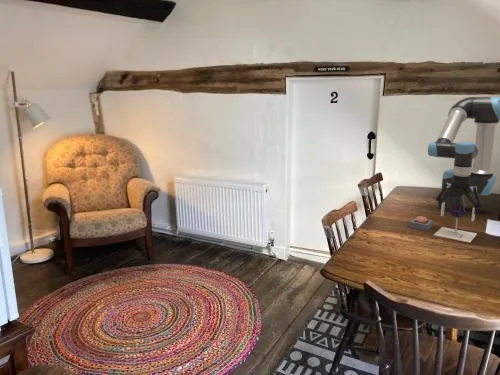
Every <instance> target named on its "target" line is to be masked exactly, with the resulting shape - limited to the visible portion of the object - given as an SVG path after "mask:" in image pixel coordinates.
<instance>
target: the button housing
mask: <svg viewBox="0 0 500 375" xmlns="http://www.w3.org/2000/svg"><path fill="white" fill-rule="evenodd" d="M408 226H409V227H408V228H410V229H416V230H420V231H425V232H428V231H429V230H430V229H431V228H432V227H433V226H434V220H432V219H431V220H430V219H427V223H426V224H423V223H417V222H416V217H414V218H413V219H412V220H410V221H409V224H408Z"/></svg>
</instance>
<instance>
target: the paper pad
mask: <svg viewBox="0 0 500 375" xmlns="http://www.w3.org/2000/svg"><path fill="white" fill-rule="evenodd" d="M477 235H478V233H476V232H472V231H465V230H459V229H457V232H456V234H455V229H454V228H450V227H445V226H442V227H440V228H439V229H438V230H437V231H436V232H435V233H434V234H433V236H434V237H440V238H445V239H450V240H455V241H459V242H465V243H471V242H472V241H473V239H475V237H476V236H477Z"/></svg>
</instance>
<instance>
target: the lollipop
mask: <svg viewBox="0 0 500 375" xmlns="http://www.w3.org/2000/svg"><path fill="white" fill-rule="evenodd" d="M449 212H450V214H451V216H452V217H453V218H456V220H455V234H456V232H457V230H458V223H459V222H458V220H459V218H463V217H464V216H465V214H466V213H467V209H466V207H465V208H464V207H463V206H462V205H459V204H456V205H454V206H452V208H451V209H450V211H449Z"/></svg>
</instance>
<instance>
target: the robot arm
mask: <svg viewBox="0 0 500 375" xmlns="http://www.w3.org/2000/svg"><path fill="white" fill-rule="evenodd" d="M468 119H472V120H473V119H474V122H473V123H474V124H475V125H476V133H475V142H471V141H458V142H456V143H455V142H454V141H455V139H456V138H457V134H458V132H459V130H460V128H461V126H462V124H463V123H464V122H465V121H466V120H468ZM499 123H500V97H499V96H469V97H465V98H462V99H460V100H459V101H457V102H456V103H454V104H453V105H452V106H451V108H450V109H449V111H448V113H447V119H446V121H445V122H444V125H443V126H442V129H441V131H440V133H439V135H438V137H437V139H436V141H430V142H429V144H428V146H427V154H428V156H429V157H433V158H434V157H435V158H443V159H447V158H448V159H454V160H453V168H452V169H447V170H444V171H443V173H442V177H441V178H442V179H441V180H442V181H441V191H440V193H439V194H438V196H437V197H436V198H435V201H437V202H436V208H437V209H439V210H440V216H441V217H443V216H444V215H445V211H447V212H450V209H451V208H452V206H454V205H456V204H459V205H462V206H463V207H464V208H465V209H466V202H465V199H464V195H465V197H466V198H467V199H468V200H469V202H470V203H471V204H472V205H473V207H472V210H471V211H472V212H471V220H470V221H471V222H474V221H475V218H476V215H478V213H479V208H482V207H483V206H484V203H483V201H482V198H481V197H480V196H489V195H491V194H492V192H493V190H494V186H495V183H496V181H497V180H496V178H497V176H496V175H495V174H494V171H493V170H492V169H491V166H492V157H493V151H494V150H493V149H494V140H495V131H496V126H497V125H498V124H499ZM472 195H473V196H474V197H473V196H472ZM474 198H475V199H474Z"/></svg>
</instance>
